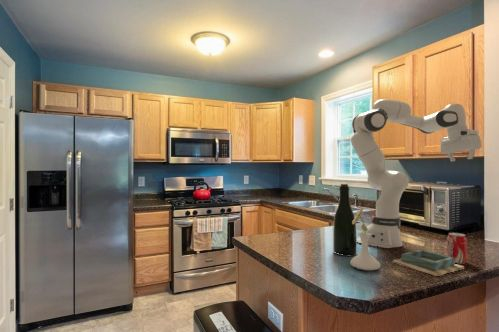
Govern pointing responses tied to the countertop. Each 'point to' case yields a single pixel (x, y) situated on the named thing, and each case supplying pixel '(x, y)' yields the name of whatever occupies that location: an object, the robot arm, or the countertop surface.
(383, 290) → the countertop surface
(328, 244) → the countertop surface
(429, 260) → the tray
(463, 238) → the soda can
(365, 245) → the flower in vase
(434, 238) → the countertop surface
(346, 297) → the countertop surface
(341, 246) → the dark green wine bottle
